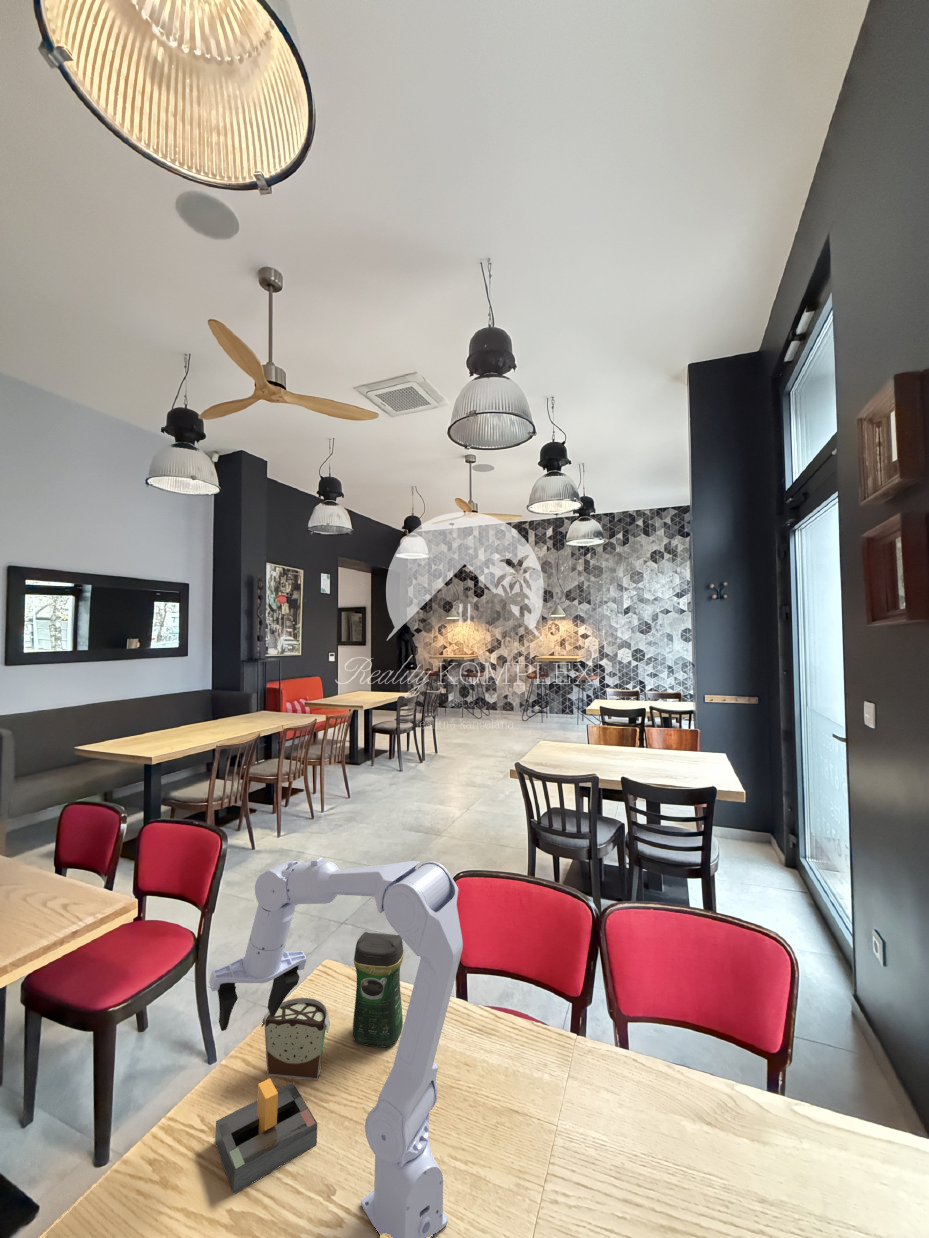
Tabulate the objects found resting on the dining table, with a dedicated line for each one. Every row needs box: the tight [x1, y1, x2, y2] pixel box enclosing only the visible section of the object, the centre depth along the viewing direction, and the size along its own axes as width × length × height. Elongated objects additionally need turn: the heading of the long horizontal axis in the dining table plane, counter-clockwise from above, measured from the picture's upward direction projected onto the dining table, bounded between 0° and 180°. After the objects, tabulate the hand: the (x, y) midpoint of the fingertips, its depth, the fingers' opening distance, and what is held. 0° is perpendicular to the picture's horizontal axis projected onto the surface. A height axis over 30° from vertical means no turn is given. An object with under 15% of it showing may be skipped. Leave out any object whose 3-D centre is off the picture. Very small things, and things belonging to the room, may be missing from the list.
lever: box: [257, 1078, 278, 1134], centre depth 79 cm, size 4×2×7 cm, turn 39°
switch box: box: [214, 1081, 318, 1195], centre depth 79 cm, size 10×12×3 cm
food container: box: [261, 997, 330, 1081], centre depth 95 cm, size 12×6×10 cm, turn 84°
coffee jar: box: [351, 931, 405, 1048], centre depth 103 cm, size 10×8×19 cm
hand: (247, 1018), depth 83 cm, fingers open, 7 cm apart
